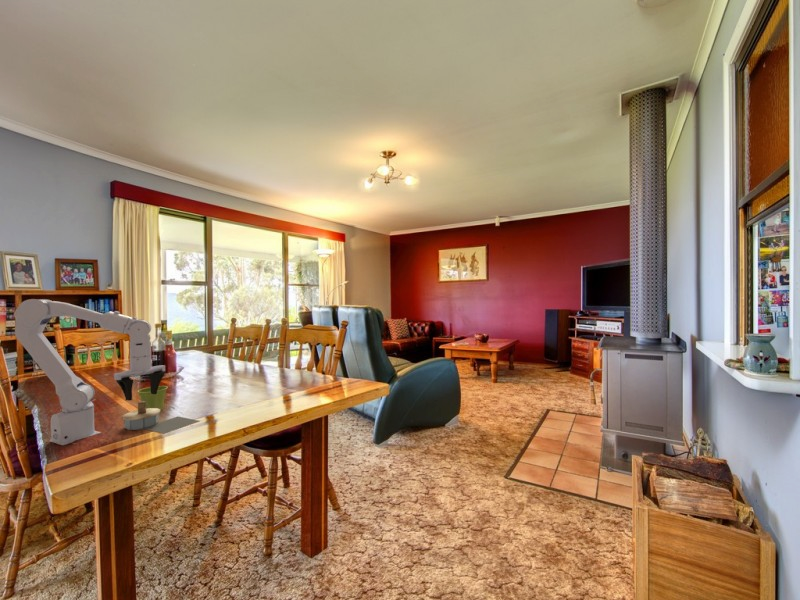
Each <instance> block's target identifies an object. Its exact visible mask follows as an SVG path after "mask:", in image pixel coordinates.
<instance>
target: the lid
mask: <svg viewBox="0 0 800 600" xmlns="http://www.w3.org/2000/svg"><path fill="white" fill-rule="evenodd" d="M160 413H161V411H160V409H158V408H148V409H146V401H142V402H141V401H138V402H137V409H136V410H133V411H130V412H127V413H125V414H123V415H122V418H123V420H138V419H144V418H148V417H152V416H155V415H157V414H159V415H160Z"/></svg>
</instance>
